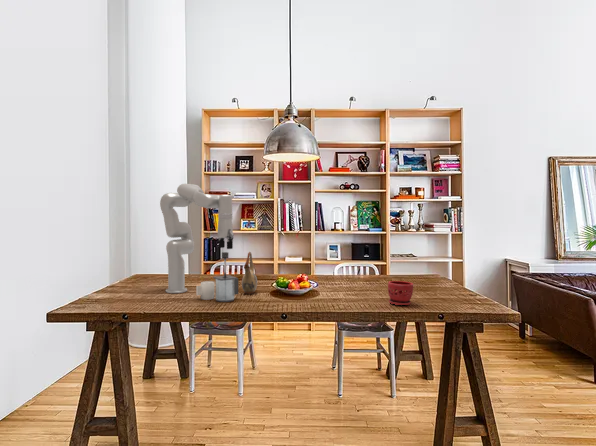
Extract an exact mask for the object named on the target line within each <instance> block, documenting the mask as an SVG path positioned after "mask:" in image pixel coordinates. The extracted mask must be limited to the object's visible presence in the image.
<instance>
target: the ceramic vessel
mask: <svg viewBox="0 0 596 446" xmlns="http://www.w3.org/2000/svg"><path fill="white" fill-rule="evenodd" d="M253 261H254V260H253V256H252V252H251V251H249V252H248V253H247V257H246V261H245V263H244V266H243V269H244V271H245V272H244V274H243V276H242V279H241V287H242V290H243V292H244V293H245V294H247V295H252V294H254V293H255V291H256V290H257V287H258V278H257V276H256V274H255V267H256V264H255V263H254V262H253Z"/></svg>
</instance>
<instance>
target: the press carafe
mask: <svg viewBox="0 0 596 446" xmlns="http://www.w3.org/2000/svg"><path fill="white" fill-rule="evenodd" d="M212 279H215V302H217V303H218V302H219V303H230V302H234V300H235V296H237V295H239V278H238V277H236V276H233V275H230V274H228V275H227V274H226V278H224V275H217V276H213V277H212Z"/></svg>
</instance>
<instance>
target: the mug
mask: <svg viewBox="0 0 596 446" xmlns="http://www.w3.org/2000/svg"><path fill="white" fill-rule="evenodd" d="M195 288H196V289H195V291H196V294H195V295H196V296H200V300H205V301H208V300H213V299H215V281H211V280H206V281H201V282H200V285H196V287H195Z"/></svg>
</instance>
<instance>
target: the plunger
mask: <svg viewBox="0 0 596 446" xmlns="http://www.w3.org/2000/svg"><path fill="white" fill-rule="evenodd" d="M221 259H223V261H224V262H223V264H224V265H223V268H224V269H223V276H224V278H226V275H227V259H229V252H228V251H226V252H224V251H223V252H221Z"/></svg>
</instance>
